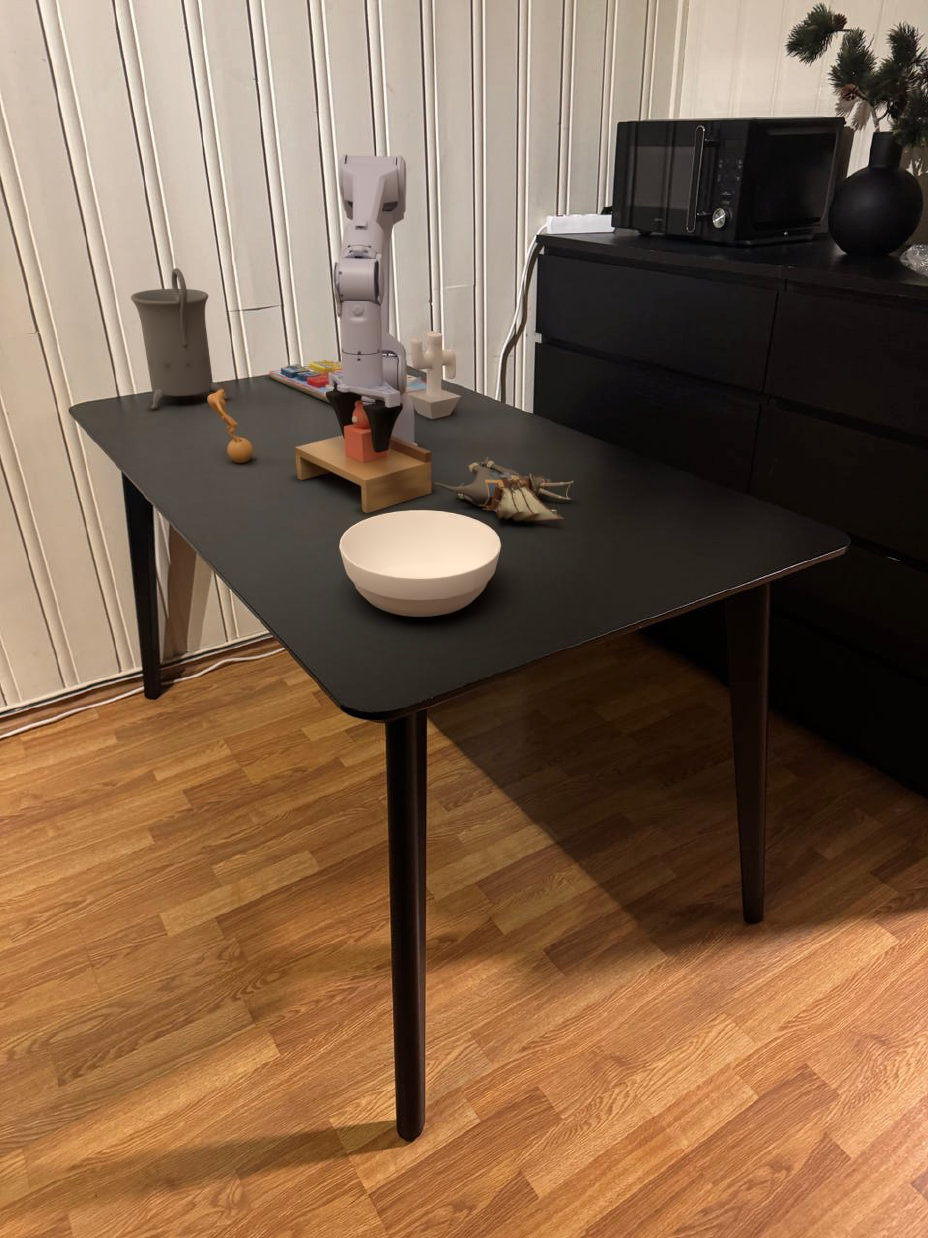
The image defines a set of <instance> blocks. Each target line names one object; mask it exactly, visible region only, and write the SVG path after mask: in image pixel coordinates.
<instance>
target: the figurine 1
mask: <svg viewBox="0 0 928 1238" xmlns="http://www.w3.org/2000/svg"><path fill="white" fill-rule="evenodd" d="M224 396H227V394H226V392H225V390H224V389H223V388H222V389H220V390H219V391H218V392H216V393H211V394H209V395H208V396H207V402H208V403H207V404H208V405H209V406H210V407H211V408H212V410H213V411H214V412H215V413H216V415H217V416H218V417H220V419H222V420H223V421H224V423H225V424H227V426H226V430H227V433H228V434H229V437H231V438H232V439H231V441H230V442H229V443H228V445H227V449H226V450H227V454H228V457H229V459H231V460H232V461H233V462H235V463H239V464H243V463H246V462H249V461H250V460H251V459H252V457H253V455H254V454H253V453H254V447H253V444H252V443H251V441H249V440H248V439H246V438H244V437H241V436H239V435H235V434H234V432H235V430H237V428H238V423H237V422H236V421H235V419H234V418H232V417H231V415H229V414H227V411H226V404H227V403H226V400H224Z"/></svg>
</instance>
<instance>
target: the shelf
mask: <svg viewBox="0 0 928 1238" xmlns="http://www.w3.org/2000/svg"><path fill="white" fill-rule="evenodd" d="M294 452H295V462H296V476H297V477H296V478H297V479H298V480H300V481H304V480H309V479H311V478H314V477H318V476H322V475H326V474H330V473H333V474H335V475H337V476H339V477H342V478H343V479H345V480H347V481H350V482H352V483H354V484H355V485H358V486H360V489H361V490H360V491H361V511H362V512H364V513H366V514H370V513H373V512H376V511H380V510H382V509H385V508H386V509H387V508H388V507H392V506H396V505H398V504H401V503H405V502H408V501H411V500H414V499H417V498H421V497H423V496H426V495H430V494H432V450H428V449H426V448H423V447H420V446H418V445H417V446H416V445H414V444H411V443H409V442H406V441H404V440H401V439H399V438H396V437H394V436H391V439H390V444H389V448H388V450H387V457H383V458H379V459H376V460H372V461H368V462H365V463H362V462H360V461H358V460H355V459H353V458H351V457H349V456H346V455H345V439H344V438H343V435H339V436H335V437H329V438H327V439H326V438H325V439H323V440H318V441H314V442H310V443H306V444H303V445H298V446H295V447H294Z"/></svg>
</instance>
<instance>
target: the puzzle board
mask: <svg viewBox="0 0 928 1238" xmlns="http://www.w3.org/2000/svg"><path fill="white" fill-rule="evenodd" d="M336 371H341V372H342V360H339V361H333V360H326V359H322V360H317V361H310V362H309V363H308V365H303V366H302V365H300V364H297V363H295V364H289V365H286V366H284V367H281V368H280V369H277V370H269V371H268V374H269V378H270V379H272V380H274V381H276V382H279V383H281V384H283V385H286V386H288V387H291V388H293V389H295V390H297V391H300V392H302V393H305V394H307V395H309V396H312V397H314V398H316V399H318V400H321V401H323V402H326V403H328V404H330V405H331V403H330V402H329V400H328V399H327V397H326V392H328V391H333V389H334V387H331V386H329V374H328V373H331V372H336ZM423 390H427V381H425V380H422V377H421V376H419V375H417V374H414V373H411V372H408V371H407V388H406V392H405V393H406V394H408V393H413V392H418V391H423Z"/></svg>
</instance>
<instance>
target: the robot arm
mask: <svg viewBox="0 0 928 1238" xmlns="http://www.w3.org/2000/svg"><path fill="white" fill-rule="evenodd" d="M337 169H338V173H337V174H338V189H339V195H340V197H341V201H342V206H343V210H344V212H345V215H346V218H347V219H349V220H350V221H348V223H346V225H345V226H344V228H343V233H342V241H341V250H340V258H339V262H338V261H335V262H334V264H333V268H332V288H333V294H334V298H335V305H336V315H337V316H336V317H338V318H339V334H340V354H341V361H342V372H341V371H336V372H331V373H328V374H329V386H331V387H334V389H333V391H328V392H326V397H327V399H328V400H329V402H330V403H331V404H330V403H329V404H330V406H331V407H332V409H333V411H334V413H335V416H336V419H337V422H338V425H339V428H340V432H341V436H343V438H344V439H345V437H344V426H348V425H352V424H355V423H353V422H352V417H353V412H354V410H355V408H356V407H355V403H356V402H357V401H362V403H363V404H366V405H364V406H363V409H364V411H365V413H366V415H367V418H368V420H369V424H370V428H371V435H372V444H373V449H374V452H376V453H380V452H383V451H387V450H388V448H389V444H390V439H391V436H394V437H396V438H399V439H401V440H404V441H406V442H409V443H411V444H414V445H416V446H418V444H417V443H416V442H415V407H414V406H413V404H412V401H411V399H410V398H409V396H408V395H407V394H406V393H405V392H406V388H407V372H408V363H407V350H406V348H405V346H404V344H403V343H402V342H401V341H399V340H398V339H397V338H396V337H394V336H393V335H392V334H391V333H390V299H391V298H390V289H391V287H390V283H391V281H390V277H391V275H390V273H391V271H390V270H391V269H390V268H391V266H390V265H391V238H392V234H393V229H394V225H395V224H397V223H399V222H401V221H403V220H404V219H405V213H406V210H407V208H406V207H407V206H406V205H407V204H406V203H407V163H406V160H405V158H404V157H403V155H397V156H387V155H386V156H384V155H382V156H381V155H348V154H342V155H341V157H340V158H339V159H338V168H337ZM368 404H369V405H368Z"/></svg>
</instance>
